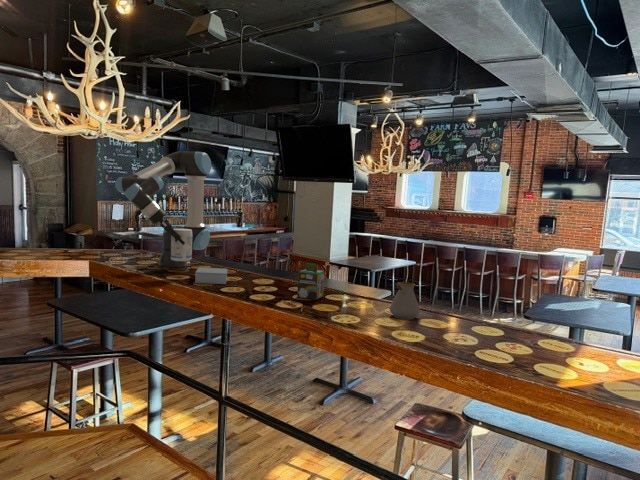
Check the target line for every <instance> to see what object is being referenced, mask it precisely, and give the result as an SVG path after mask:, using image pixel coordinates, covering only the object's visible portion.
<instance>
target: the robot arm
mask: <svg viewBox="0 0 640 480" xmlns="http://www.w3.org/2000/svg"><path fill="white" fill-rule="evenodd" d="M211 170H212V161H211V158H210V157H209V155H208V153H206V152H202V151H189V150H188V151H187V150H186V151H184V150H181V151H175V152H172V153H170V154H167V155H165V156H163V157H161V159H160V160H159V161H156V163H153V164H151V165H149V166H147V167H146V168H143V169H141V170H139V171H137V172H135V173H132V174H131V175H128V176H119V177H118V178H116V179H115V183H114V185H115V190H117V192H119V193H123V194H124V196H125V197H126V198H127V199H128V200H129V201H130V203H132V204H133V206H135V208H137V209H138V210H139V211H140V212H141V215H142V216H145V217H146V218H148V220H149V222H151V223H152V224H153V225H156V224H157V223H160V224H159V226H160V227H161V228H162V229H163V232H162V249H161V250H162V252H161V254H160V256H159V260H158V266H159V267H164V268H166V267H167V268H183V267H186V266H187V261H174V260H172V259H171V235H172V236H173V237H174V238H175V242H178V243H179V244H180V245H181V246H182V247H183V248H184V249H185V250H186V251H188V250H189V249H190V248H191V246H190V245H189V244H188V243H187V242H186V241H185V240H184V239H183V238H182V237H181V236H180V235H178V233H177V232H176V231H175V230H174V229H191V230H192V250H195V251H197V250H198V251H199V250H200V251H202V250H204V249H206V248H207V247H208V245H209V243H210V239H211V233H210V231H209V230H207V226H206V224H205V223H204V199H205V198H204V194H205V187H204V186H205V184H204V182H205V179H206V178H207V175H208V174H210V172H211ZM174 173H184V177H185V178H186V179H187V201H186V203H187V209H186V210H187V212H186V213H187V216H186V217H187V218H186V220H187V221H186V223H185V224H178V225H172V224H171V223H170V221H169V220H168V219H164V217H165V216H166V215H167V213H166V212H165V210H164V209H162V208H160V205H159V204H158V203H157V202H156V201H155V200H154V199H153V198H152V197H153V196H155V195H156V194H158V193H160V191H161V190H162V189H163V188H164V181H163V179H162V178H163V177H164V176H166V175H172V174H174Z"/></svg>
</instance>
